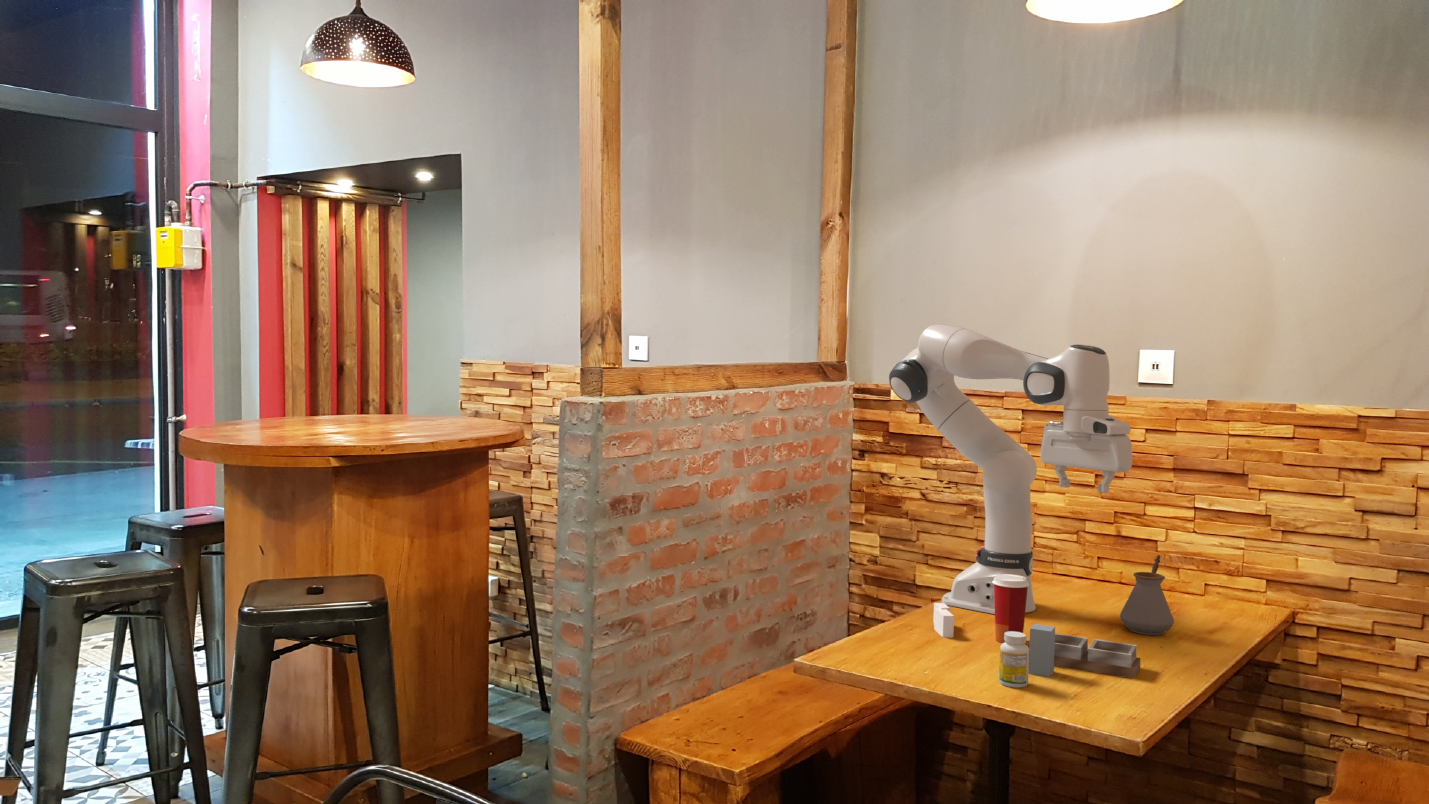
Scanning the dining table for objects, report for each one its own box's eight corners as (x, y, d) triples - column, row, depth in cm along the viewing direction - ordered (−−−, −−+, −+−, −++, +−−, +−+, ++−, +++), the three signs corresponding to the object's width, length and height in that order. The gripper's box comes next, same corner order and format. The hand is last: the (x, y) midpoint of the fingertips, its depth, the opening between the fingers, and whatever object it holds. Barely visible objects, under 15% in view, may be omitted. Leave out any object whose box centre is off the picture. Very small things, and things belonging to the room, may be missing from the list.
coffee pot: (1169, 640, 232) (1172, 573, 231) (1115, 632, 238) (1117, 566, 237) (1182, 619, 250) (1185, 557, 249) (1131, 612, 256) (1134, 551, 255)
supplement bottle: (1020, 690, 196) (1022, 639, 196) (994, 684, 200) (995, 634, 199) (1032, 683, 200) (1034, 634, 200) (1006, 677, 204) (1007, 628, 203)
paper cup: (1028, 638, 231) (1030, 575, 231) (1026, 647, 224) (1028, 582, 223) (991, 634, 234) (993, 572, 233) (988, 643, 227) (990, 579, 226)
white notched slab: (956, 644, 228) (957, 618, 227) (907, 635, 234) (908, 609, 234) (980, 629, 240) (981, 604, 240) (934, 621, 246) (934, 597, 246)
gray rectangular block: (1028, 673, 206) (1030, 628, 206) (1033, 668, 210) (1034, 623, 209) (1049, 677, 204) (1051, 631, 204) (1053, 671, 208) (1055, 626, 207)
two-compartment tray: (1034, 662, 214) (1035, 640, 213) (1043, 652, 221) (1044, 631, 220) (1134, 678, 204) (1135, 655, 204) (1140, 667, 211) (1141, 645, 211)
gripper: (1034, 420, 224) (1033, 485, 225) (1118, 427, 207) (1116, 496, 208) (1054, 419, 228) (1052, 483, 228) (1138, 426, 211) (1135, 494, 211)
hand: (1083, 489), depth 218 cm, fingers open, 8 cm apart
